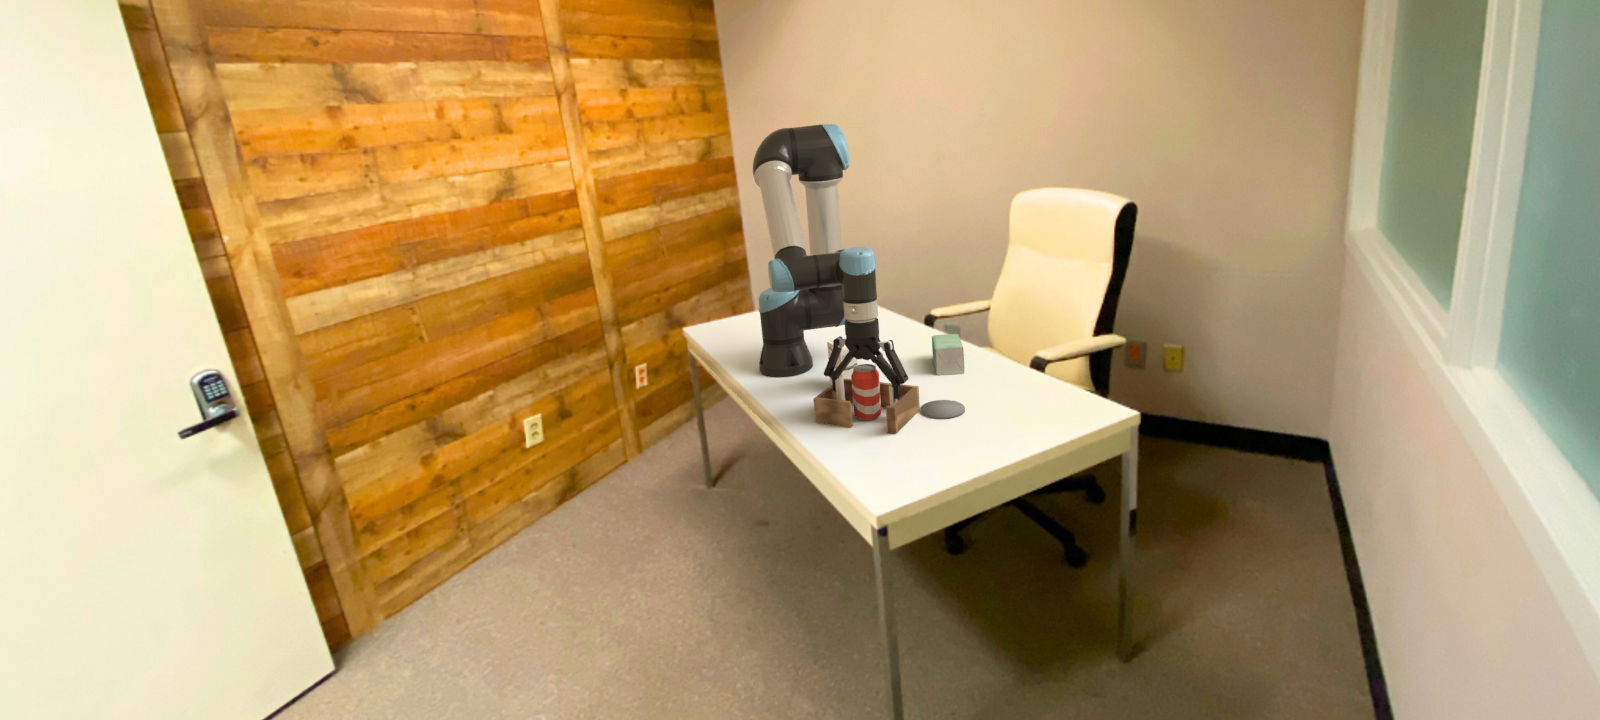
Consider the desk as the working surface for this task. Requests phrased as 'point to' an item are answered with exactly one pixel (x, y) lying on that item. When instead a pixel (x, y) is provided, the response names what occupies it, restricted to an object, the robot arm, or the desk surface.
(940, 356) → the box
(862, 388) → the beverage can
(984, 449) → the desk surface
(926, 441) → the desk surface
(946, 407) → the coaster
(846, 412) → the wooden enclosure
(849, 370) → the ink box
